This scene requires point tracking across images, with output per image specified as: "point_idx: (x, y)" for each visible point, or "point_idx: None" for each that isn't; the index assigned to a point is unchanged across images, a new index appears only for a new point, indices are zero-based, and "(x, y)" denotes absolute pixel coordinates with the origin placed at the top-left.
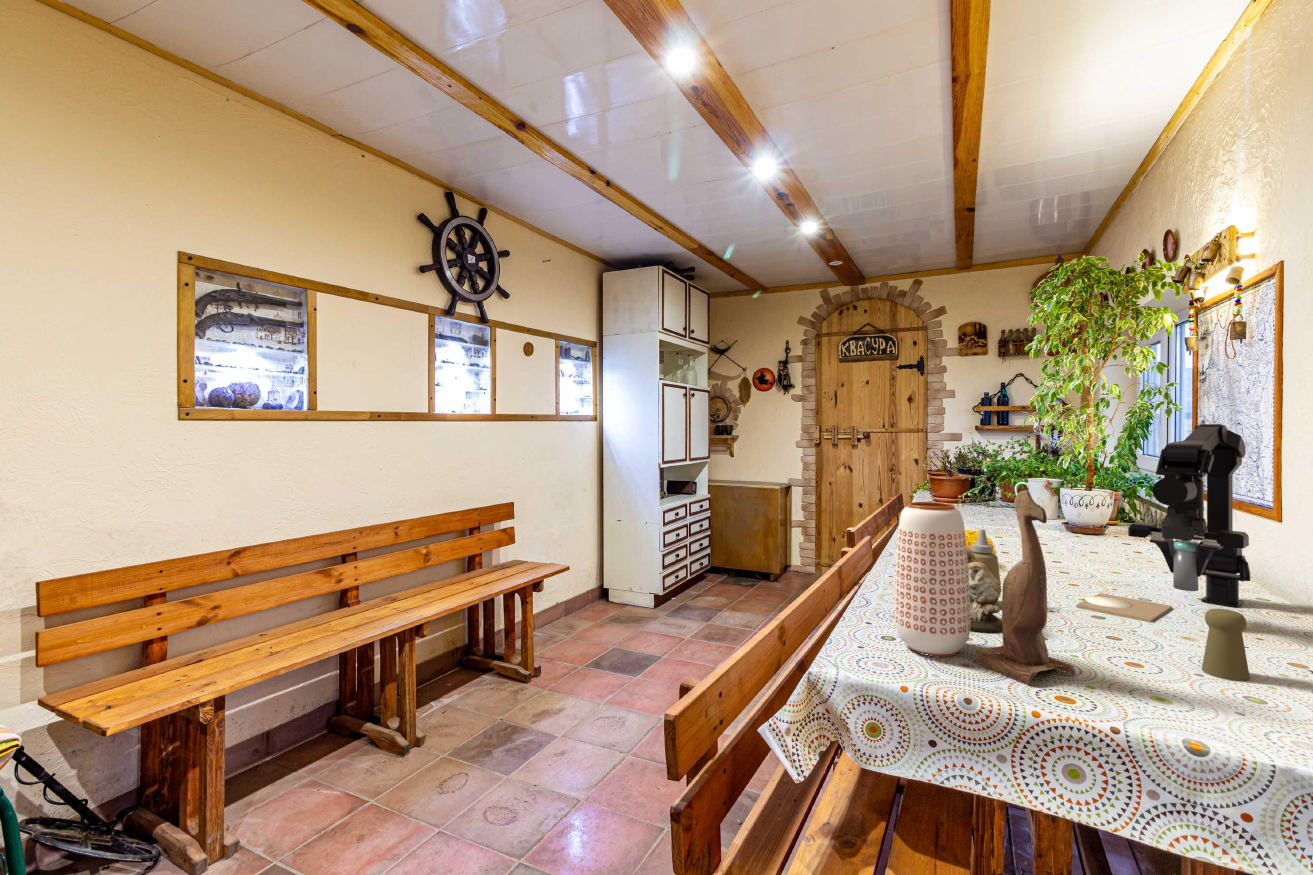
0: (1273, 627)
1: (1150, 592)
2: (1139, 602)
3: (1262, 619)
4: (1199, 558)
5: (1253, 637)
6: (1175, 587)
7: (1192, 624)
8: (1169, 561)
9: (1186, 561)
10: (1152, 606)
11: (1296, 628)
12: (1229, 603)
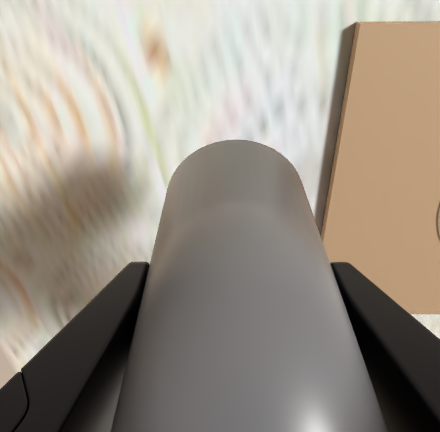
0: (39, 300)
1: None
2: (411, 283)
3: None
4: (53, 413)
5: (5, 121)
6: (287, 162)
7: (212, 139)
8: (399, 333)
9: (210, 324)
10: (367, 262)
11: (4, 330)
12: None
